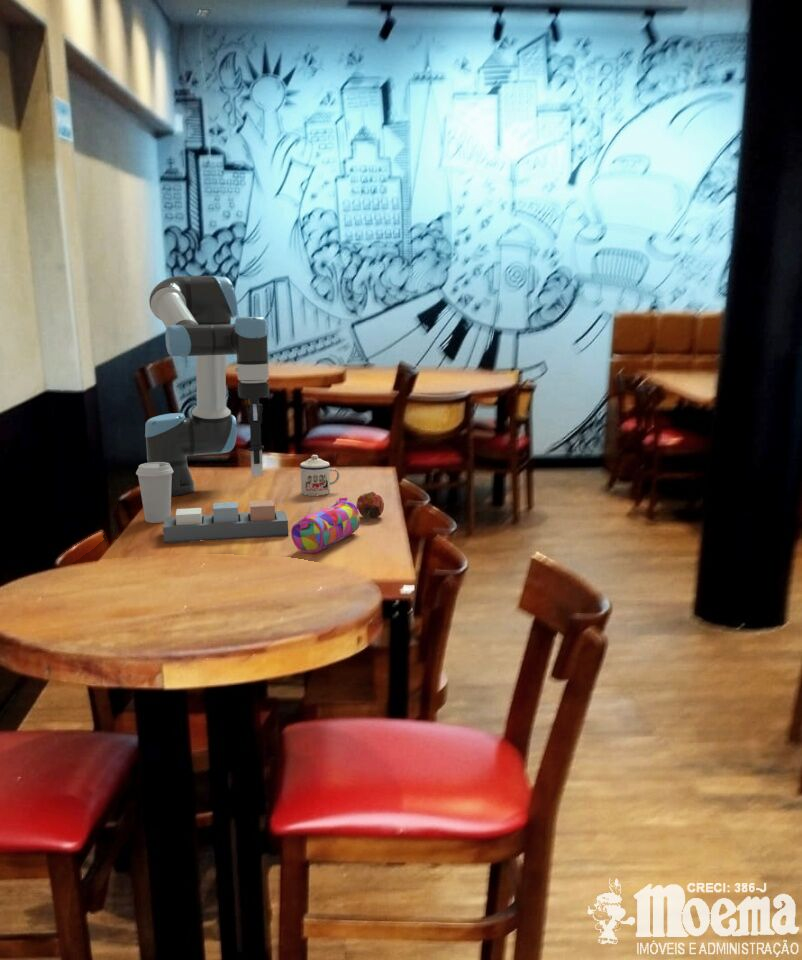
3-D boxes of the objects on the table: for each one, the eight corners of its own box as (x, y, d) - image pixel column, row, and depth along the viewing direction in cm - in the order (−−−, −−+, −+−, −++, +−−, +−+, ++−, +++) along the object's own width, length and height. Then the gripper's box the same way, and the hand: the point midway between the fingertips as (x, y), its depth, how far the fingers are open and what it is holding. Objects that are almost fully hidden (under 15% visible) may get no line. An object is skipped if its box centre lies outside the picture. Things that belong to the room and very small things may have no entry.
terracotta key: (250, 518, 219) (249, 501, 218) (273, 517, 220) (273, 500, 220) (250, 524, 214) (250, 506, 213) (275, 523, 215) (274, 505, 214)
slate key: (214, 520, 218) (213, 503, 217) (238, 518, 219) (237, 501, 218) (214, 526, 212) (213, 508, 211) (238, 525, 213) (237, 507, 212)
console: (166, 532, 218) (165, 517, 217) (285, 525, 224) (284, 510, 223) (164, 543, 208) (163, 527, 207) (288, 536, 214) (287, 520, 213)
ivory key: (177, 526, 216) (176, 509, 215) (202, 525, 217) (201, 507, 216) (176, 532, 210) (175, 515, 209) (201, 531, 211) (200, 513, 211)
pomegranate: (382, 529, 228) (392, 500, 234) (373, 512, 223) (383, 482, 229) (357, 529, 231) (367, 500, 237) (348, 512, 226) (358, 483, 232)
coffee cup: (166, 525, 224) (162, 469, 221) (132, 523, 226) (128, 467, 223) (182, 516, 233) (179, 462, 230) (150, 514, 235) (146, 460, 232)
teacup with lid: (303, 497, 254) (302, 459, 251) (298, 490, 262) (297, 453, 260) (342, 494, 257) (342, 456, 254) (336, 488, 266) (336, 451, 263)
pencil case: (328, 529, 220) (328, 495, 218) (362, 533, 217) (362, 498, 215) (288, 553, 200) (287, 516, 198) (325, 558, 197) (324, 520, 195)
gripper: (237, 379, 215) (241, 471, 220) (237, 384, 202) (242, 482, 207) (267, 378, 216) (271, 470, 221) (269, 383, 204) (273, 480, 208)
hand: (257, 475), depth 214 cm, fingers closed
